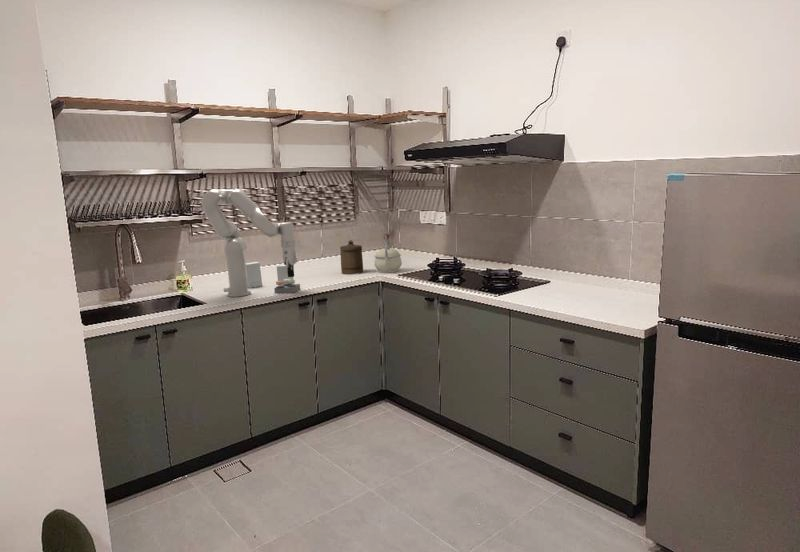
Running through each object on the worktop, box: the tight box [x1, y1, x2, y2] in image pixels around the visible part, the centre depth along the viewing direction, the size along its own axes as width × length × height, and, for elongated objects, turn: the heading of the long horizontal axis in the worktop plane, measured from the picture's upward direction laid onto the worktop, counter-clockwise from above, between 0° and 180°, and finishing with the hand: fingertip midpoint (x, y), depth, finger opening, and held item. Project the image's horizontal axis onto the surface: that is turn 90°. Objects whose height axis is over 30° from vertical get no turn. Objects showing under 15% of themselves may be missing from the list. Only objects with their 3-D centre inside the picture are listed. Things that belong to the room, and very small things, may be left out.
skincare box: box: [245, 261, 263, 289], centre depth 318 cm, size 8×6×15 cm
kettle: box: [374, 233, 403, 274], centre depth 350 cm, size 25×18×25 cm
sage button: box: [288, 279, 296, 284], centre depth 295 cm, size 4×4×2 cm
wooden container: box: [339, 239, 364, 275], centre depth 355 cm, size 15×15×22 cm
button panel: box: [273, 283, 301, 294], centre depth 298 cm, size 11×12×3 cm
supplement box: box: [276, 264, 295, 286], centre depth 316 cm, size 7×7×13 cm
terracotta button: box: [275, 280, 283, 286], centre depth 294 cm, size 4×4×2 cm
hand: (291, 276), depth 295 cm, fingers closed
